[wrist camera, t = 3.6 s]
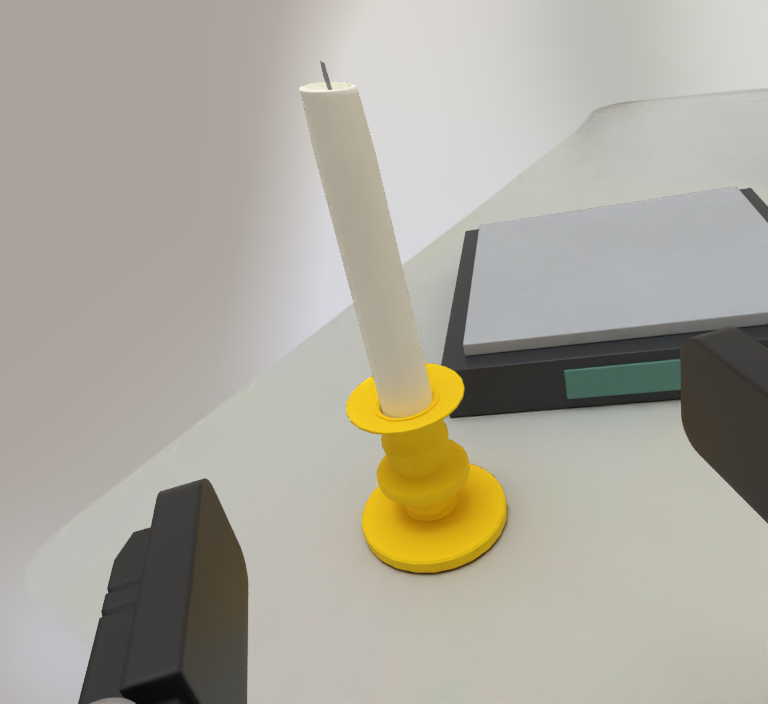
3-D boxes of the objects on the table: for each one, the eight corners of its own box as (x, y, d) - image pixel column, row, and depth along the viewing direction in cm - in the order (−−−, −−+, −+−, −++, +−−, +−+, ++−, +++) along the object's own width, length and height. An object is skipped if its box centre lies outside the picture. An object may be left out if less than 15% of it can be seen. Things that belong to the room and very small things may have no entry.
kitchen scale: (449, 419, 29) (436, 360, 28) (471, 266, 43) (463, 221, 41) (872, 385, 25) (883, 314, 24) (749, 227, 39) (751, 176, 37)
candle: (501, 461, 26) (424, 27, 19) (515, 565, 22) (421, 49, 14) (370, 478, 27) (247, 70, 20) (357, 582, 23) (191, 103, 15)
